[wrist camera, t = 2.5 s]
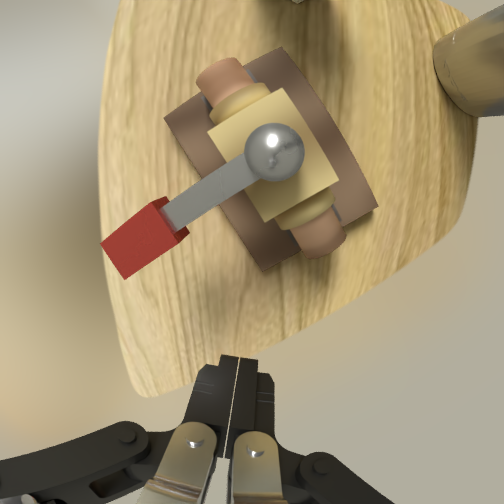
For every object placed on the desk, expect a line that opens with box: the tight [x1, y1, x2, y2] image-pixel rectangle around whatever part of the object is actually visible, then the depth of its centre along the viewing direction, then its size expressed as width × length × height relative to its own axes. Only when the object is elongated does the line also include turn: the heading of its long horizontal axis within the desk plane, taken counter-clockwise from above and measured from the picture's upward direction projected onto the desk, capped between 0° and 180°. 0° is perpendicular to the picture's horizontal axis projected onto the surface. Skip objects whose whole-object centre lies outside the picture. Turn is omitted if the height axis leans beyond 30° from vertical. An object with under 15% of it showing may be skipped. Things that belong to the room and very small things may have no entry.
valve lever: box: [100, 123, 305, 280], centre depth 13 cm, size 11×3×2 cm, turn 122°
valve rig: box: [164, 47, 378, 272], centre depth 17 cm, size 15×11×8 cm
